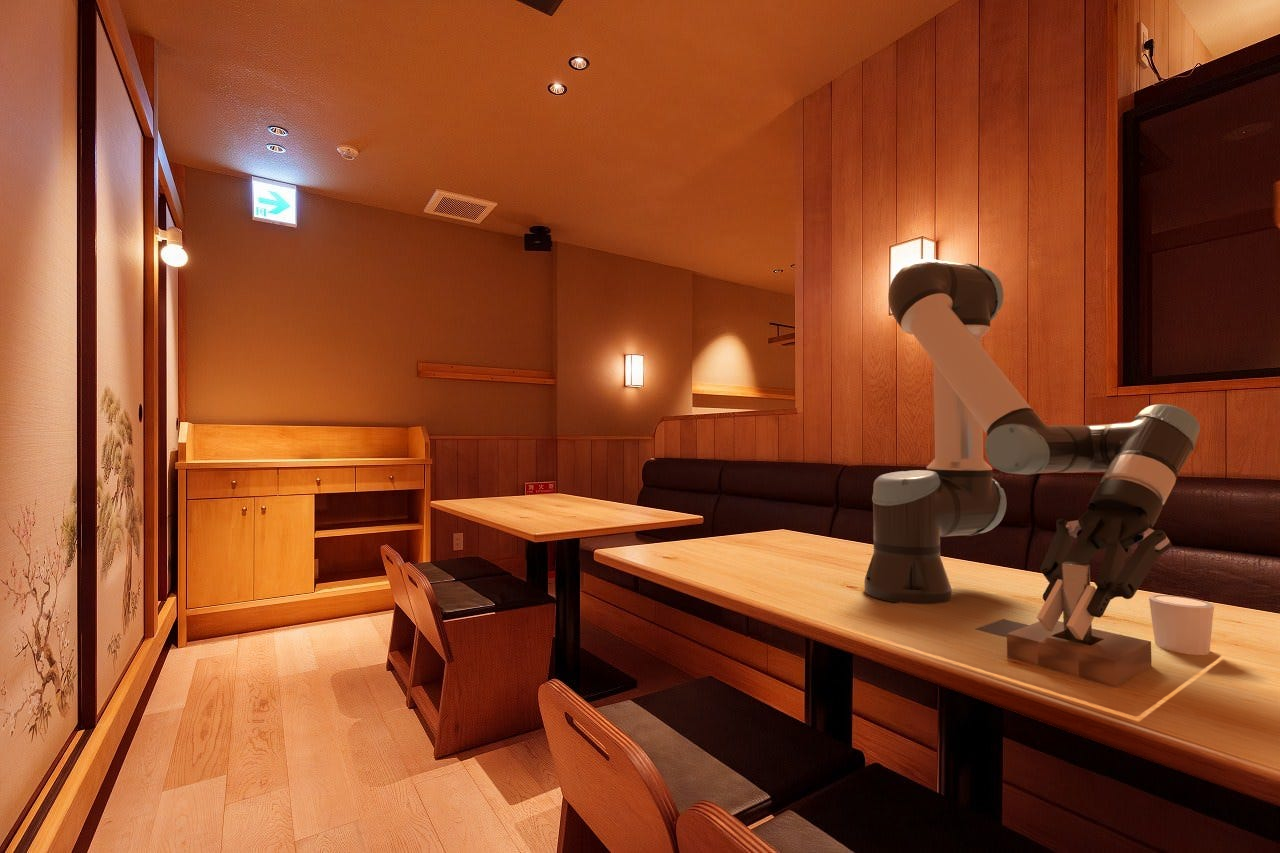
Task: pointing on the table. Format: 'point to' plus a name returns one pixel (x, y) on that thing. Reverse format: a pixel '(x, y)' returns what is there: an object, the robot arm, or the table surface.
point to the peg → (1074, 595)
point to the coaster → (1002, 627)
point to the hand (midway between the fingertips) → (1059, 628)
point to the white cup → (1182, 623)
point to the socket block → (1081, 653)
